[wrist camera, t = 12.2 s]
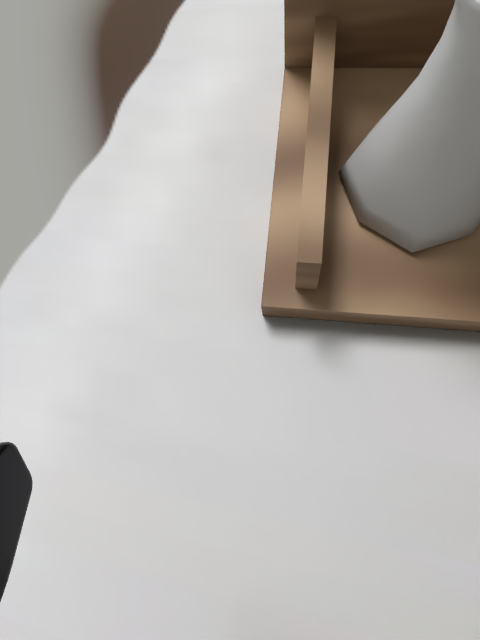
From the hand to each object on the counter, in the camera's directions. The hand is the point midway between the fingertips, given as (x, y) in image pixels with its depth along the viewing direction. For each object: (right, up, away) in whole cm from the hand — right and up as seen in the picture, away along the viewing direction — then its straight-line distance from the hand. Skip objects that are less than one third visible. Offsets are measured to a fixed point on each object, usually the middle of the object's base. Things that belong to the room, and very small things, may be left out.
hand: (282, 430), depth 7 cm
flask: (+8, +8, +15) cm, 19 cm away
